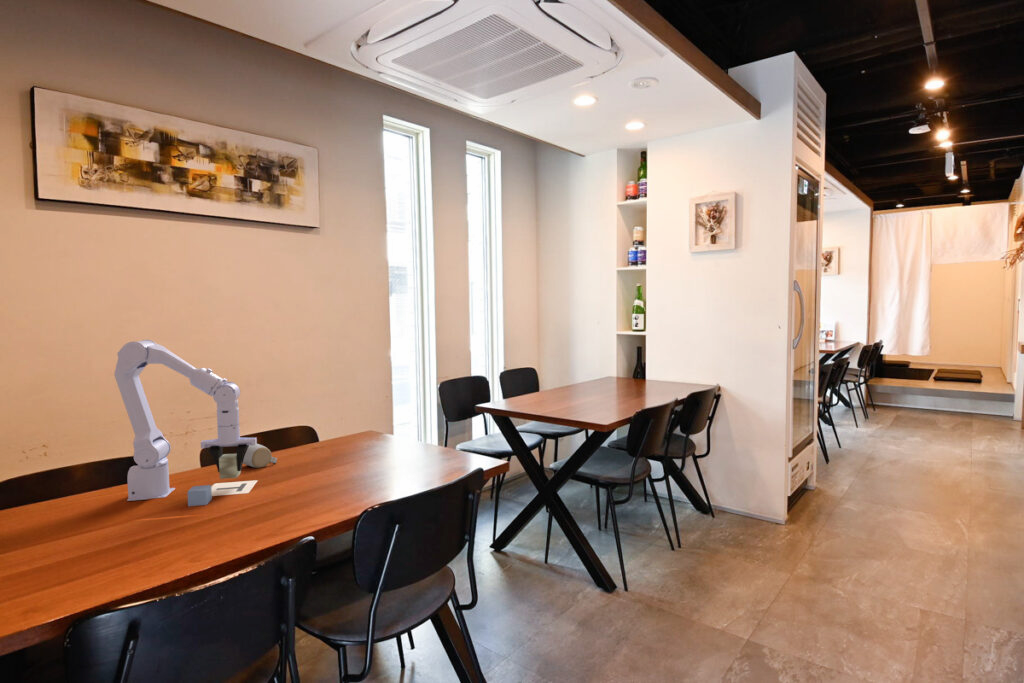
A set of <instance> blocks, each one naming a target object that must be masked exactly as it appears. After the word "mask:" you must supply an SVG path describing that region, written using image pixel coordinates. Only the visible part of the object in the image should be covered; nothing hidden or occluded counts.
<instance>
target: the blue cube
mask: <svg viewBox="0 0 1024 683" xmlns="http://www.w3.org/2000/svg"><path fill="white" fill-rule="evenodd" d="M211 487H212V485H211V484H206V485H205V484H204V485H194V486H192V487H191V488H189V490H188V491H187V506H188V507H195V506H207V505H208V504H209V503H210V502H211V501H212V499H213V496H212V492H211Z"/></svg>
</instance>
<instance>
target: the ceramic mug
mask: <svg viewBox="0 0 1024 683" xmlns="http://www.w3.org/2000/svg"><path fill="white" fill-rule="evenodd" d="M277 460H278V458H277V457H274V456H272V451H271V450H270V449H269V448H268V447H266V446H264V445H263V444H259V443H257V444H256V445H254V446H252V445H249V447H248V449H247V451H246V454H245V456H244V460H243V464H242V465H245V466H248V467H252V468H255V469H262V467H263V468H265V467H267V466H268V465H269V464H270V463H273V464H276V463H277V462H278V461H277Z"/></svg>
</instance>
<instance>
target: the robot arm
mask: <svg viewBox="0 0 1024 683" xmlns="http://www.w3.org/2000/svg"><path fill="white" fill-rule="evenodd" d="M116 354H117V362H116V365H115V370H114V378H115V381H116V384H117V387H118V389H119V392H120V395H121V398H122V401H123V404H124V407H125V409H126V413H127V415H128V418H129V422H130V425H131V426H132V430H133V433H134V439H133V443H132V446H133V449H134V451H133V460H134V462H135V463H136V464H137V465H133V466H130V467H129V469H128V471H127V480H126V481H127V495H128V498H127V499H126V500H127V502H130V501H143V500H144V501H145V500H149V499H161V498H162V499H163V498H167V497H168V496H169V495H170V494H171V493H172V492H173V491H174V490H176V487H170V473H169V471H170V470H169V459H168V456H169V454H170V453H171V449H172V448H171V444H170V442H169V440H167V439H166V438H165V437H164V435H163V432H162V430H160V429H159V428H157V425H156V421H155V419H154V416H153V413H152V410H151V408H150V404H149V401H148V398H147V396H146V393H145V391H144V390H145V389H144V387H143V384H142V382H141V378H140V374H141V373H142V372H143V371H144V369H145V368H146V367H147V366H148V365H149V364H151V365H153V364H154V365H156V364H157V365H159V364H160V365H163V366H165V367H167V368H169V369H170V370H173V371H175V372H177V373H179V374H181V375H183V376H184V377H185V378H188V381H189V383H190V385H191V386H193V387H195V388H196V389H197V390H200V391H201V392H203V393H204V394H207V395H208V396H210V397H212V399H213V400H214V402H215V403H216V423H217V424H216V425H217V426H216V427H217V438H215V439H205V440H201V441H200V449H206V448H209V450H208V453H209V454H210V456H211V457H212V459H213V461H214V462H215V465H216V468H217V473H219V458H220V457H221V456H222V455H223V449H224V447H236V448H235V454H237V470H238V471H242V469H243V465H244V464H243V460H244V456H245V454H246V451H247V449H248V447H249V445H252V446H254V445H256V444H258V443H257V442H258V439H257V438H258V437H244V436H243V437H242V436H241V432H240V430H241V429H240V408H239V397H240V395H241V389H240V387H239V385H237V384H236V383H235V382H234V381H228V379H227V378H225V377H224V378H222V377H220V376H219V375H218V374H215V373H213V372H214V370H213V369H211V368H210V367H209V368H206V367H201V368H196V367H195V366H193V365H192V364H191V363H189V362H187V360H184V359H182V358H181V357H179V356H178V355H177V354H175V353H173V352H172V351H171V350H169V349H168V348H166V347H165V346H164V345H161V344H158V343H157V342H155V341H153V340H151V339H142V340H138V341H129V342H127V343H125V344H124V345H123V346H122V347H121V348H120V349H119V350H118V352H117V353H116Z"/></svg>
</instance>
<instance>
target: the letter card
mask: <svg viewBox="0 0 1024 683" xmlns="http://www.w3.org/2000/svg"><path fill="white" fill-rule="evenodd" d="M258 481H259V480H256V479H255V480H254V479H253V480H244V481H243V480H242V481H231V482H218V483H217V482H216V483H213V485H211V492H212V497H215V496H217V497H218V496H229V495H240V494H241V495H244V494H249V493H250V492H251V490H252V489H253V488H254V486H255V485H256V484H257V482H258Z"/></svg>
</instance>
